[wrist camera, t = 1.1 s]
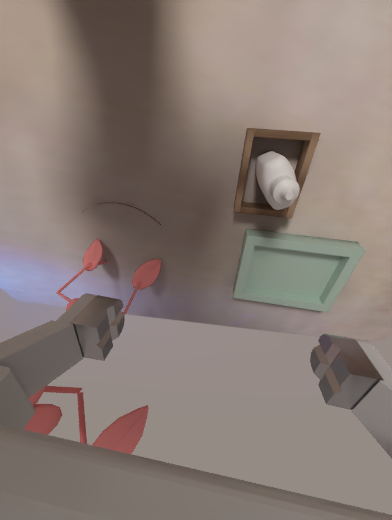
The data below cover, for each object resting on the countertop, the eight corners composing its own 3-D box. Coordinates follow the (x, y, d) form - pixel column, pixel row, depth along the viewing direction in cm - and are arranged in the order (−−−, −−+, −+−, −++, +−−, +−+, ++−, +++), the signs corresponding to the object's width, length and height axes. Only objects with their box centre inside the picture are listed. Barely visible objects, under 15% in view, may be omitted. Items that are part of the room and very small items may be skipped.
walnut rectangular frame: (246, 128, 25) (248, 128, 23) (313, 133, 24) (320, 133, 22) (233, 206, 31) (234, 211, 29) (287, 212, 30) (291, 218, 28)
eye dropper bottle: (248, 192, 29) (256, 222, 19) (258, 149, 26) (274, 158, 16) (278, 196, 29) (302, 228, 19) (292, 153, 26) (329, 164, 16)
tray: (233, 289, 39) (233, 297, 37) (246, 229, 32) (247, 235, 30) (322, 302, 38) (328, 312, 36) (356, 242, 31) (366, 249, 29)
